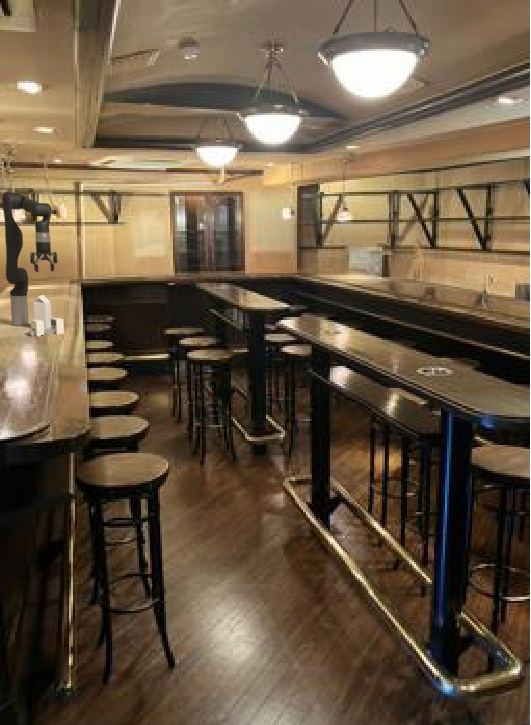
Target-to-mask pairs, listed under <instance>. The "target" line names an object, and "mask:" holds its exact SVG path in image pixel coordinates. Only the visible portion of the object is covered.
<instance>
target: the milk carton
mask: <svg viewBox="0 0 531 725" xmlns="http://www.w3.org/2000/svg"><path fill="white" fill-rule="evenodd" d="M51 318H53V317H52V301H50V299H49V298H47V297H46V294H41V295H38V297H37V298H35V300H34V301H33V320H37V319H38V320H42V321H44V329H47V328H50V327H51Z"/></svg>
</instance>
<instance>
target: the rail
mask: <svg viewBox="0 0 531 725" xmlns="http://www.w3.org/2000/svg"><path fill="white" fill-rule="evenodd" d="M51 333H56V331H55V328H47V329H44V334H50V335H52V334H51ZM30 335H31V336H30ZM29 336H30V337H36V336H35V330H31V329H30V330H29Z"/></svg>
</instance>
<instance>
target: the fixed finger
mask: <svg viewBox="0 0 531 725" xmlns="http://www.w3.org/2000/svg"><path fill="white" fill-rule="evenodd" d="M64 323H65V322H64V319H63V318H60V317H52V318H51V328H55V331H56V334H55V335H65V327H64V326H65V325H64Z"/></svg>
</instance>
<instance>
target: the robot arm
mask: <svg viewBox="0 0 531 725" xmlns="http://www.w3.org/2000/svg"><path fill="white" fill-rule="evenodd" d="M1 198H2V200H1V202H2V211H3V217H4V218H3V219H4V231H5V234H4V236H5V237H4V238H5V251H6V252H5V254H6V255H5V256H6V258H5V259H6V260H5V262H6V263H5V279H6V281H7V283H9V284H10V285H14V286H13V288H11V289H10V291H9V298H10V312H11V313H10V314H11V315H10V316H11V325H12V326H16V327H17V326H19V327H20V326H29V324H30V322H29V305H28V304H29V303H28V291H29V274H28V272H27V270H26V269H25V268H24V267H18V266H19V265H18V264H19V256H20V254H21V252H22V249H23V246H24V236H23V232H22V229H21V228H20V226H19V225H18V223H17V222H16V220H15V218H14V215H13V210H24V211H25V212H27V213H30V214H31V215H32V216H33V217H39V218H41V217H42V219H41V220H38V221H36V222H35V224H34V225H35V229H34V230H35V238H34V239H35V250H36V251H35V252H33V251H30V254H29V257H30V258H29V262H30V264H32V265H33V267H34V271H35V272H36V273H39V263H40V262H41V261H47V262H49V263H50V264H49V266H50V272H54V271H55V264H58V263H59V262H58V253H57V252H56V251H53V252H52V250H51V247H52V246H51V235H50V222H51V217H52V212H53V209H52V206H51V205H50V204H49V203H46V202H38V201H36V200H34V199H30V198H28V197H26V196H25V195H24V194H22V193H20V192H11V191H4V192H3V193H2V197H1ZM51 256H52V257H51ZM35 257H36V258H35Z"/></svg>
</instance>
